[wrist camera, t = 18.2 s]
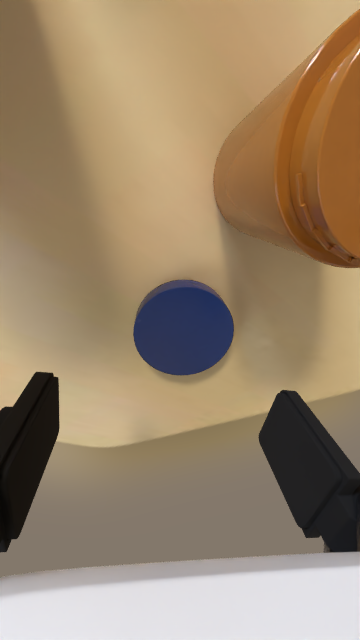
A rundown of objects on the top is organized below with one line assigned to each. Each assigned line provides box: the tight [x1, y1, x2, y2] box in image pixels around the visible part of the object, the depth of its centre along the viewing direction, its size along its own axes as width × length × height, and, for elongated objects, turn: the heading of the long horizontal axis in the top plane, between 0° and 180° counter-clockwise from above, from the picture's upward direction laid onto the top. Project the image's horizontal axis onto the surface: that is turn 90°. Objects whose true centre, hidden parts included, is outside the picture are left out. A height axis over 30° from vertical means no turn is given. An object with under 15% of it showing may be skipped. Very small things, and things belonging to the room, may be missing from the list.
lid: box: [133, 280, 234, 375], centre depth 17 cm, size 7×7×2 cm
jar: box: [213, 9, 360, 268], centre depth 10 cm, size 6×6×10 cm
